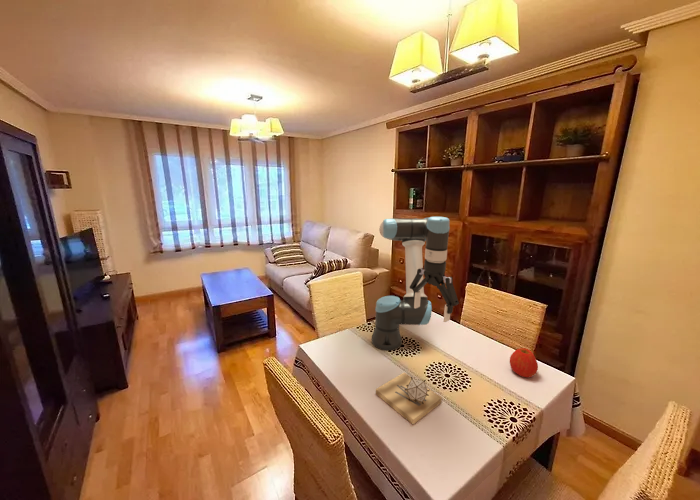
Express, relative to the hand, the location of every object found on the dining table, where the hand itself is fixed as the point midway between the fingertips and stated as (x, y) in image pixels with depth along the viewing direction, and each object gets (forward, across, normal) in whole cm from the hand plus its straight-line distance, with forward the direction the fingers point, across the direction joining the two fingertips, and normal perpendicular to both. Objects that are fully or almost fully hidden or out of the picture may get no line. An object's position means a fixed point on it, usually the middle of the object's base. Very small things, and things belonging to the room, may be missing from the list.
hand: (431, 313), depth 107 cm
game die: (+28, +6, -13) cm, 31 cm away
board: (+30, +2, -13) cm, 32 cm away
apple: (+30, +21, +38) cm, 53 cm away
